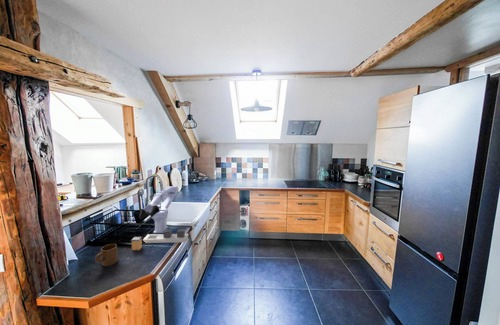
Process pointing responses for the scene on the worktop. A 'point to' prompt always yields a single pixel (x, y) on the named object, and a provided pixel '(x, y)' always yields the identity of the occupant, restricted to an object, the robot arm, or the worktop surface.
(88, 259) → the worktop surface
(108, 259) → the mug
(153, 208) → the robot arm
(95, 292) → the worktop surface
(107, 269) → the worktop surface
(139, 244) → the plug
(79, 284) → the worktop surface
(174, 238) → the pdu strip
